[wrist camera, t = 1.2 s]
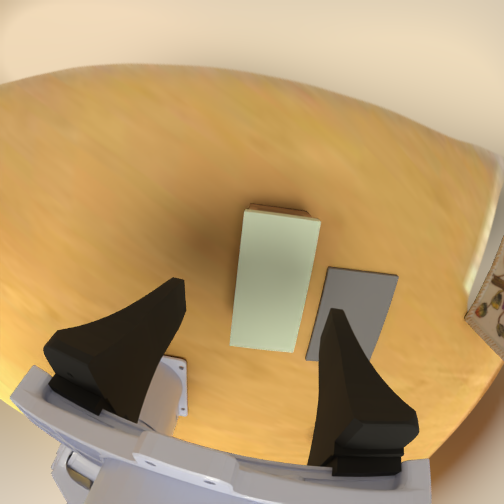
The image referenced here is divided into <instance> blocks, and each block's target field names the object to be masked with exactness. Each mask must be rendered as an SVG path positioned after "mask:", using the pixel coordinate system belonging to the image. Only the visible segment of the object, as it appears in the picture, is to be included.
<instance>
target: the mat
mask: <svg viewBox="0 0 504 504" xmlns="http://www.w3.org/2000/svg"><path fill="white" fill-rule="evenodd" d="M398 278H399V277H398V276H397V275H391V274H383V273H375V272H367V271H359V270H350V269H342V268H334V267H328V269H327V274H326V278H325V283H324V287H323V292H322V296H321V300H320V304H319V308H318V312H317V316H316V320H315V324H314V328H313V332H312V336H311V339H310V343H309V347H308V350H307V354H306V357H305V359H306V360H307V361H319V347H320V337H321V334H322V332H323V329H324V326H325V323H326V320H327V317H328V314H329V311H330V308H336V309H343V310H344V312H345V314H346V317H347V319H348V321H349V324H350V326H351V328H352V330H353V332H354V334H355V336H356V338H357V340H358V342H359V344H360V346H361V348H362V350H363V351H364V353H365V355H366V356H367V358H368V360H370V358H371V356H372V353H373V351H374V348H375V346H376V343H377V340H378V338H379V335H380V332H381V330H382V327H383V324H384V321H385V318H386V315H387V313H388V310H389V307H390V304H391V300H392V297H393V294H394V291H395V288H396V284H397V281H398Z"/></svg>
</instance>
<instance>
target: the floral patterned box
mask: <svg viewBox="0 0 504 504" xmlns="http://www.w3.org/2000/svg"><path fill="white" fill-rule="evenodd" d="M465 321H466V322H467V323H468V324H469V325H470V326H471V327H472V328H473V329H474V331H475V332H476V333H477V334H478V335H479V336H480V337H481V338H482V339H483V340H484V341H485V342H486V343H487V344H488V345H489V346H490V348H492V350H494V351H495V352H496V353H497V354H498V355H499V357H500V358H501V359H502V360H504V236H503V238H502V241H501V244H500V247H499V249H498V252H497V254H496V257H495V259H494V262H493V264H492V267H491V269H490V271H489V272H488V275H487V277H486V279H485V281H484V283H483V285H482V287H481V289H480V291H479V293H478V295H477V297H476V299H475V301H474V303H473V305H472V306H471V308H470V309H469V311H468V313H467V315H466V316H465Z"/></svg>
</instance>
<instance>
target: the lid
mask: <svg viewBox="0 0 504 504" xmlns="http://www.w3.org/2000/svg"><path fill="white" fill-rule="evenodd" d="M320 224H321V221H320V220H319V219H316V218H310V217H303V216H296V215H289V214H281V213H274V212H267V211H259V210H251V209H245V211H244V218H243V227H242V235H241V244H240V253H239V262H238V271H237V280H236V289H235V298H234V307H233V317H232V326H231V336H230V346H237V347H245V348H253V349H262V350H271V351H281V352H293V351H294V347H295V343H296V339H297V335H298V331H299V327H300V322H301V318H302V314H303V309H304V305H305V300H306V296H307V291H308V286H309V281H310V277H311V272H312V267H313V262H314V257H315V251H316V246H317V241H318V235H319V230H320Z"/></svg>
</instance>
